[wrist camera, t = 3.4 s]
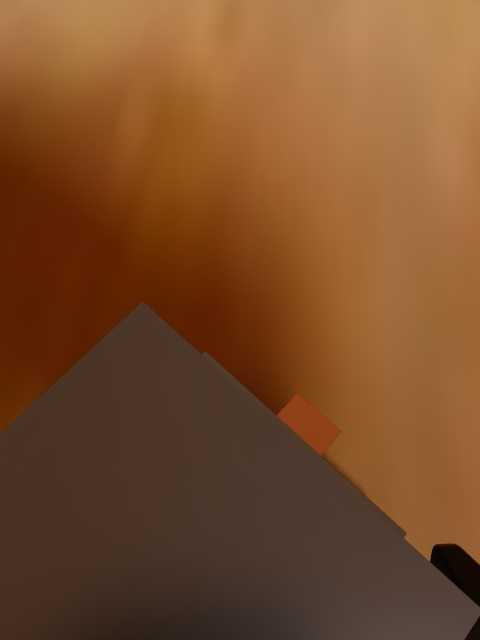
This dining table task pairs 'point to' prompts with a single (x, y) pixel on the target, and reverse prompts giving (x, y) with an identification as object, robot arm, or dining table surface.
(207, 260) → the dining table surface
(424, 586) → the column
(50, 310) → the dining table surface
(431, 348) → the dining table surface
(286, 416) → the stand
